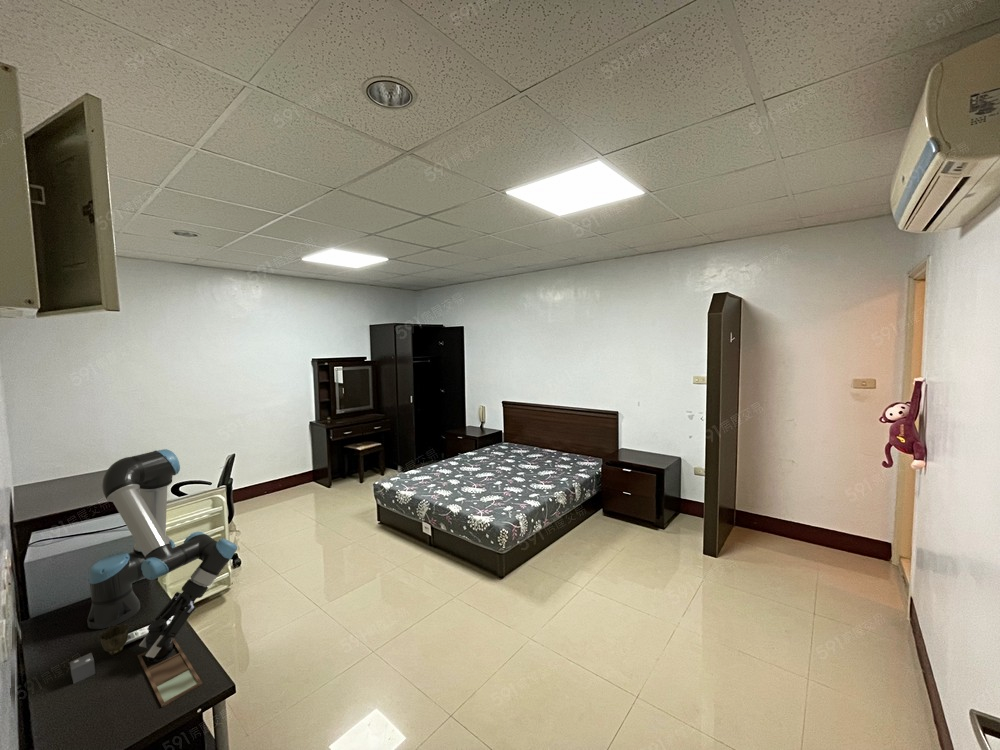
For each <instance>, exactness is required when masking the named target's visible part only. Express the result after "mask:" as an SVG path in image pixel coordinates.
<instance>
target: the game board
mask: <svg viewBox="0 0 1000 750" xmlns="http://www.w3.org/2000/svg"><path fill="white" fill-rule="evenodd" d="M172 644H173V646H174V645H175V646H174V647H175V649H176V648H177V649H176V650H177V652H178V653H177V654H175V655H172V656H171V657H170V656H169V657H167V658H165V659H164V660H162V661H159V662H157V663H156V664H155V665H152V666H150V667H147V664H146V663H145V661H144V658H143V657H144V656H145V655H146V654H147V650H146V651H145V652H143V653H140V654H138V655H137V659H138V661H139V663H140V665H141V667H142V669H143V671H144V674H145V675H146V678H147V679H148V682H149V684H150V686H151V689H152V690H153V692H154V694H155V696H156V698H157V700H158V702H159V705H160V706H161V708H163V707H165V706H167V705H168V704H169V705H170V703H173V702H174V701H176V700H177V699H179V698H181V697H182V696H184V695H186V694H188V693H190V692H192V691H193V690H195V689H197V688H198V686H199V687H200V686H202V685H203V681H202V680H201V678H200V677H199V675H198V674H197V672H196V670H195V669H194V667H193V666H192V664H191V662H190V661H189V659H188V658H187V656H186V654H185V653H184V652H183V650H182V648H181V646H180V645H179V643H178V642H177V640H176V638H172Z"/></svg>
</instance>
